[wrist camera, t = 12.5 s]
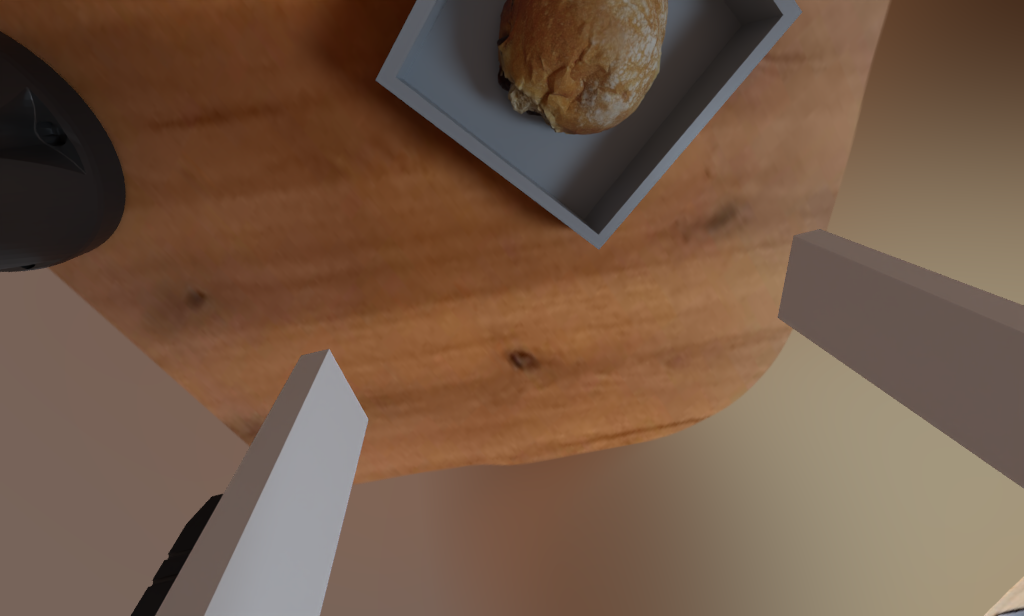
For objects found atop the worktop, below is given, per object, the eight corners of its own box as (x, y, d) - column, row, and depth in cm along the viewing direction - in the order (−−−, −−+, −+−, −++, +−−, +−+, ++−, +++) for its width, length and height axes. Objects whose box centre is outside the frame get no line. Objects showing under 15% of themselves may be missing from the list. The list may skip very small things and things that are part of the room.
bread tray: (388, 82, 25) (375, 80, 21) (558, -238, 19) (582, -321, 16) (581, 230, 32) (599, 249, 28) (750, 24, 26) (802, 12, 22)
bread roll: (604, 122, 31) (694, 120, 24) (495, 148, 26) (570, 154, 20) (601, -41, 26) (713, -94, 19) (466, -39, 21) (553, -107, 15)
